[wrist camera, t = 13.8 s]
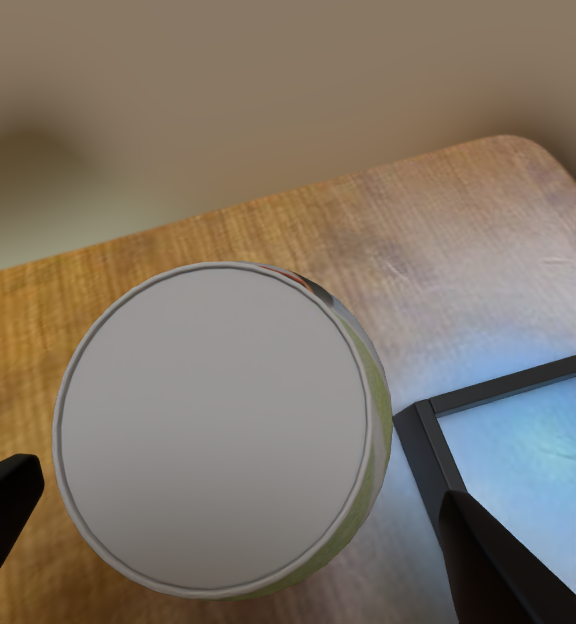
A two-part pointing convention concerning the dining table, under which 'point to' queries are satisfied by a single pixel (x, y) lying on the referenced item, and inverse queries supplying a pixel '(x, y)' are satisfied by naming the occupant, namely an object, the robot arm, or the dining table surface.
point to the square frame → (422, 415)
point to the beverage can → (222, 431)
